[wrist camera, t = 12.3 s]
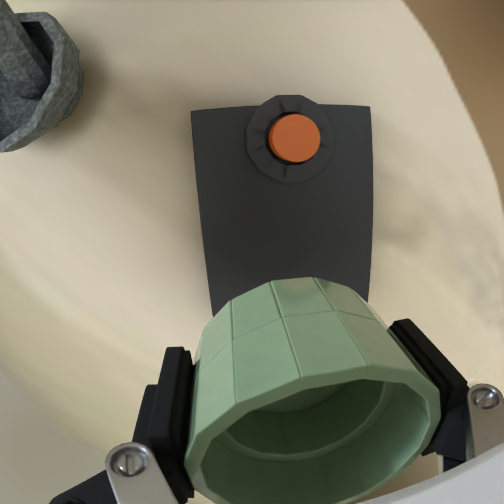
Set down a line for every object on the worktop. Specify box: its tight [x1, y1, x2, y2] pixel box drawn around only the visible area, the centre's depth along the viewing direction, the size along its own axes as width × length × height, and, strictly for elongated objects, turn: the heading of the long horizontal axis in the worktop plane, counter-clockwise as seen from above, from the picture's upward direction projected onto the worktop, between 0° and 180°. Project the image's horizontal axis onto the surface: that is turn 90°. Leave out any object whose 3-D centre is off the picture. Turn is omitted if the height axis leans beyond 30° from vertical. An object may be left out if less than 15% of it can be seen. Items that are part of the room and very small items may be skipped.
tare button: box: [269, 114, 320, 162], centre depth 19 cm, size 3×3×2 cm
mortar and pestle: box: [0, 0, 83, 152], centre depth 14 cm, size 11×9×12 cm
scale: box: [191, 95, 373, 317], centre depth 23 cm, size 16×13×3 cm
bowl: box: [184, 277, 441, 504], centre depth 9 cm, size 7×7×5 cm
